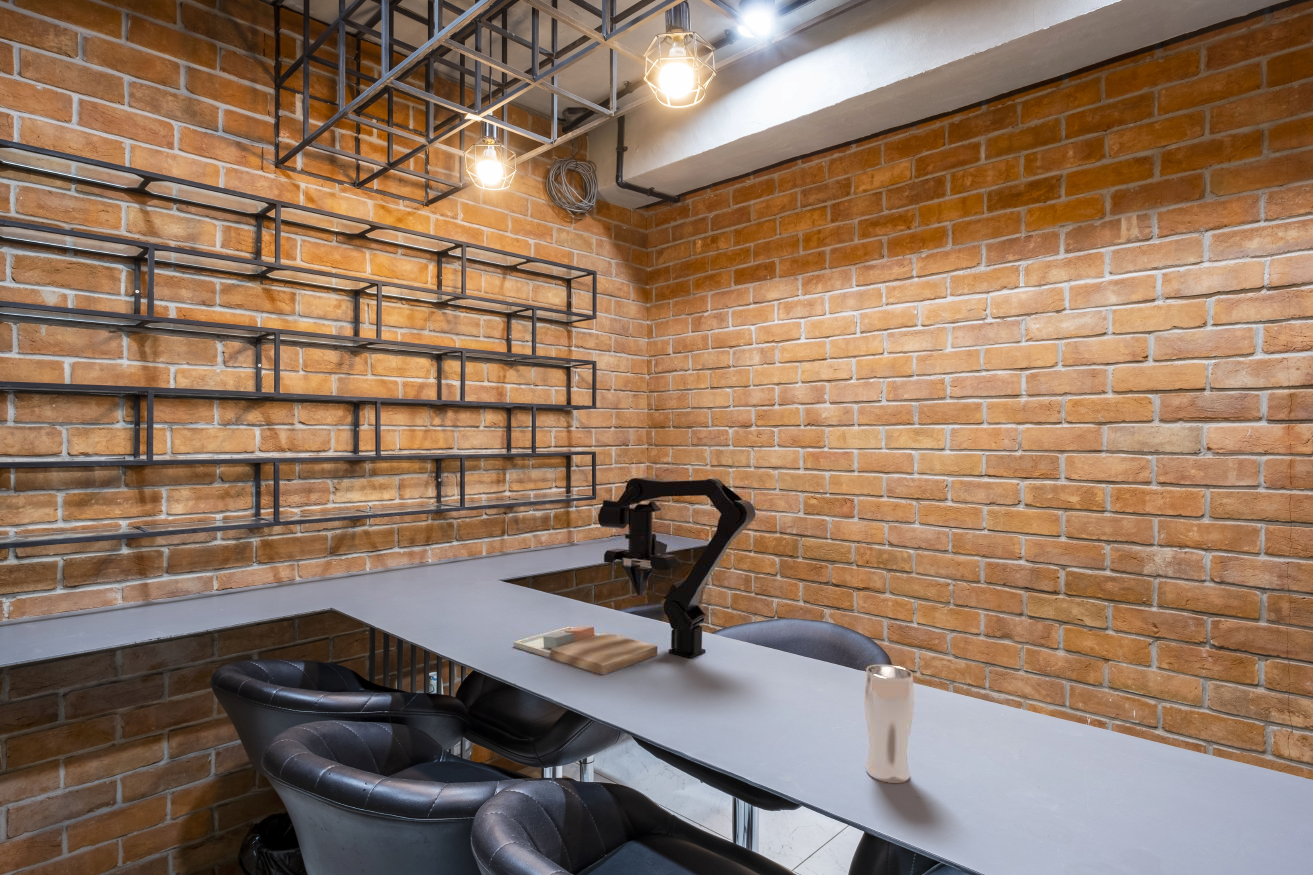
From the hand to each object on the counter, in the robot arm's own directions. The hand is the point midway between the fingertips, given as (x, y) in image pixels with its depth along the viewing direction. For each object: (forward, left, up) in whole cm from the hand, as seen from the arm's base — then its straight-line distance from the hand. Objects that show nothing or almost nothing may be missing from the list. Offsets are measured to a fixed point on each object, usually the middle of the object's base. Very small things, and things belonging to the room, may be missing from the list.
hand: (639, 594), depth 160 cm
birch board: (0, +12, -12) cm, 17 cm away
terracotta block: (+11, +9, -11) cm, 18 cm away
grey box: (+11, +16, -11) cm, 22 cm away
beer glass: (-68, +24, -12) cm, 73 cm away
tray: (+14, +12, -12) cm, 22 cm away
